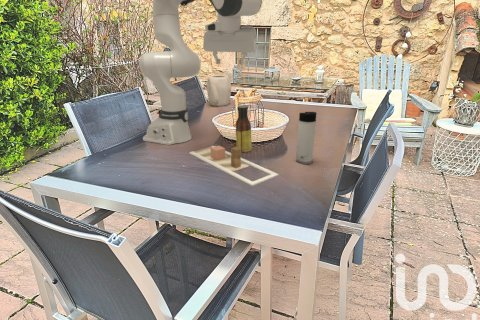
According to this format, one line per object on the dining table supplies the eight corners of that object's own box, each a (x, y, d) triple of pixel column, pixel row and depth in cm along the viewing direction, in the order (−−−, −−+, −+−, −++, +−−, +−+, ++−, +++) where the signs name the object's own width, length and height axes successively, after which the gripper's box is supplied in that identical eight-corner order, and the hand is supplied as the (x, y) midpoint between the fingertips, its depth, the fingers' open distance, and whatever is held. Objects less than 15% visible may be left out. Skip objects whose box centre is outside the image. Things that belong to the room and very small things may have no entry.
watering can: (198, 108, 207) (196, 78, 200) (217, 100, 230) (216, 72, 222) (219, 110, 202) (218, 79, 194) (237, 102, 224) (237, 74, 217)
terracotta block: (210, 157, 127) (210, 147, 125) (219, 154, 129) (218, 145, 127) (216, 160, 124) (216, 150, 122) (225, 157, 126) (224, 148, 125)
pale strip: (192, 154, 133) (191, 135, 130) (208, 149, 138) (207, 131, 134) (232, 174, 115) (232, 153, 111) (249, 168, 119) (249, 148, 116)
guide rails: (189, 156, 131) (189, 152, 130) (214, 149, 138) (213, 145, 137) (252, 190, 105) (252, 184, 104) (278, 179, 112) (278, 174, 111)
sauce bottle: (253, 151, 136) (254, 105, 129) (248, 156, 131) (249, 108, 123) (238, 149, 138) (238, 103, 131) (233, 155, 133) (233, 107, 125)
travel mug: (303, 166, 122) (307, 114, 115) (292, 160, 128) (296, 110, 120) (316, 163, 125) (321, 112, 117) (305, 157, 130) (309, 108, 123)
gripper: (257, 25, 122) (257, 63, 128) (206, 25, 127) (208, 62, 132) (254, 25, 117) (254, 65, 122) (200, 26, 121) (202, 64, 126)
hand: (229, 64), depth 127 cm, fingers open, 8 cm apart
